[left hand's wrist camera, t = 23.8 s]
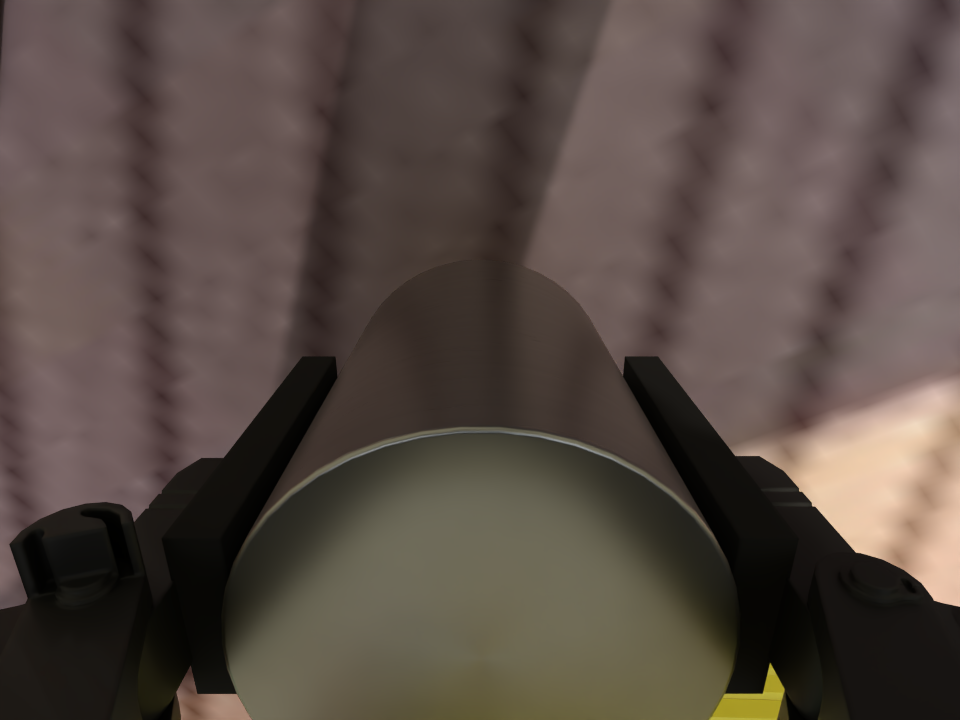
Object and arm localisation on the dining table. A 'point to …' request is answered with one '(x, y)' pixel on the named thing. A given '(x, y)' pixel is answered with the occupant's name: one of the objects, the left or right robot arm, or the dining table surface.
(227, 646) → the canister
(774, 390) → the dining table surface
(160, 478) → the dining table surface
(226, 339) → the dining table surface
